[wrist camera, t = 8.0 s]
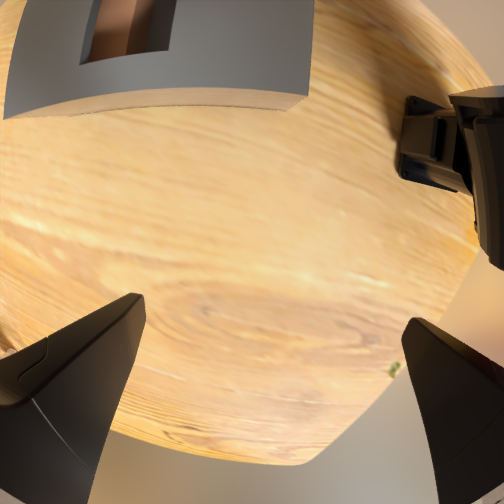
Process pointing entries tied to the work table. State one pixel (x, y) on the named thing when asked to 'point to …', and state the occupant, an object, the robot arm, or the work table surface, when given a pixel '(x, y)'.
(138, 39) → the block
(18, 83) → the box
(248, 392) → the work table surface
